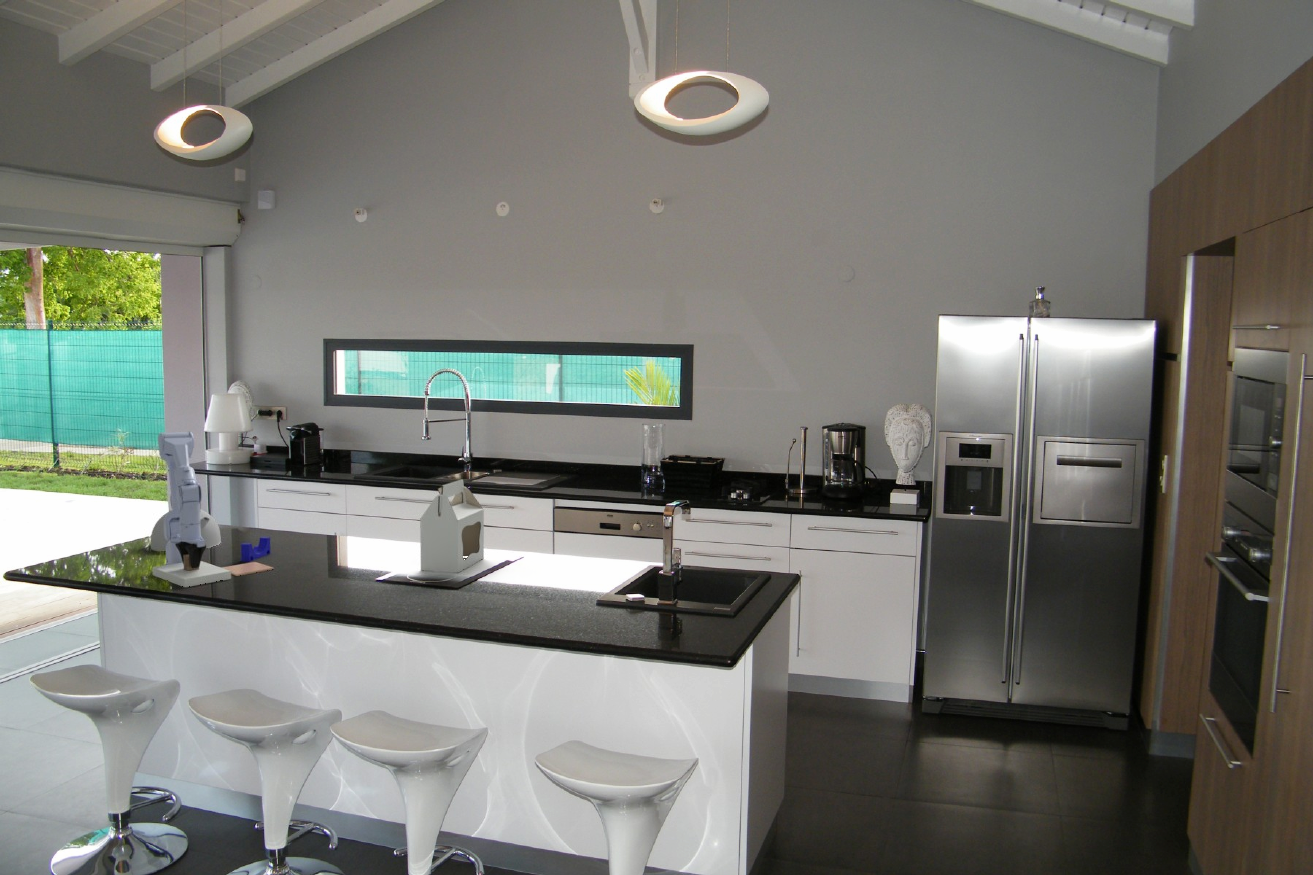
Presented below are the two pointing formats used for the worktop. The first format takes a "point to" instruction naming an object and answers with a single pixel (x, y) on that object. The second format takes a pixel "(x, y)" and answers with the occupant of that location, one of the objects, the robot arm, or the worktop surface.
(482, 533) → the gable box
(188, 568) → the walnut peg
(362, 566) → the worktop surface
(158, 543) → the kettle
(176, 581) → the board
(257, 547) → the cable clip
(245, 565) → the terracotta tile
